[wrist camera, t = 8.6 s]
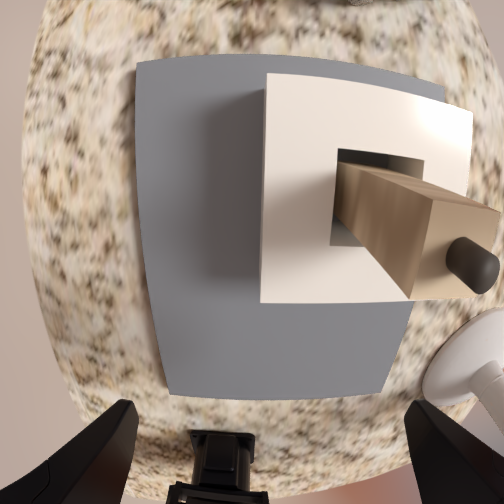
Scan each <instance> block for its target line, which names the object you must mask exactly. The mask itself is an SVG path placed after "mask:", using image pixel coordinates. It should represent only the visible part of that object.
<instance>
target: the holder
mask: <svg viewBox="0 0 504 504" xmlns="http://www.w3.org/2000/svg"><path fill="white" fill-rule="evenodd" d="M472 114H473V113H472V112H469V111H466V110H463V109H460V108H458V107H455V106H452V105H448V104H445V103H442V102H439V101H436V100H432V99H429V98H425V97H422V96H418V95H414V94H410V93H406V92H402V91H398V90H394V89H389V88H385V87H380V86H375V85H370V84H364V83H358V82H352V81H346V80H339V79H332V78H324V77H315V76H305V75H292V74H276V73H267V76H266V81H265V86H264V113H263V154H262V191H261V225H260V257H259V278H260V303H369V302H397V301H418V300H409V299H408V298H407V297H406V295H405V294H404V293H403V292H402V290H401V289H400V288H399V287H398V286H397V284H396V283H395V282H394V281H393V280H392V278H391V277H390V276H389V275H388V274H387V272H386V271H385V270H384V269H383V268H382V266H381V265H380V264H379V263H378V262H377V261H376V260H375V258H374V257H373V256H372V255H371V254H370V253H369V252H368V250H367V249H366V248H365V247H364V246H363V245H362V244H361V243H360V241H359V240H358V239H357V238H356V237H355V236H354V235H353V234H352V233H351V232H350V230H349V229H348V228H347V227H346V226H345V225H344V224H343V223H342V222H341V221H332V216H333V206H334V195H335V182H336V169H337V153H338V148H343V149H352V150H361V151H369V152H376V153H384V154H389V155H388V167H387V169H390V170H393V171H396V172H399V173H402V174H405V175H408V176H411V177H414V178H417V179H420V180H423V181H425V182H428V183H431V184H434V185H436V186H439V187H442V188H444V189H447V190H449V191H452V192H454V193H457V194H459V195H462V196H464V197H466V191H467V184H468V176H469V166H470V156H471V142H472ZM426 300H435V299H426Z"/></svg>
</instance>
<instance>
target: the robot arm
mask: <svg viewBox="0 0 504 504" xmlns="http://www.w3.org/2000/svg"><path fill="white" fill-rule="evenodd" d="M138 424H139V416H138V413H137V411H136V408H135V405H134V403H133V401H131V400H126V399H120V400H118V401H117V402H116V403H115V404H113V405H112V406H111V407H110V408H109V409H107V410H106V411H105V412H104V413H103V414H102V415H100V416H99V417H98V418H97V419H96V420H94V421H93V422H92V423H91V424H90V425H88V426H87V427H86V428H85V429H84V430H82V431H81V432H80V433H79V434H78V435H76V436H75V437H74V438H73V439H71V440H70V441H69V442H68V443H67V444H65V445H64V446H63V447H62V448H60V449H59V450H58V451H57V452H56V453H54V454H53V455H52V456H51V457H49V458H48V460H45V461H44V462H43V463H42V464H40V465H39V466H38V467H36V468H35V469H34V470H32V471H31V472H30V473H28V474H27V475H25V476H23V477H22V478H20V479H19V480H17V481H15V482H14V483H12V484H10V485H8V486H7V487H5V488H3V489H1V490H0V504H120V502H121V498H122V495H123V491H124V488H125V484H126V481H127V477H128V474H129V470H130V467H131V463H132V459H133V453H134V447H135V441H136V435H137V429H138ZM404 424H405V429H406V435H407V440H408V446H409V452H410V457H411V461H412V465H413V469H414V472H415V476H416V480H417V484H418V488H419V492H420V496H421V500H422V504H504V457H503V456H501V455H500V454H498V453H497V452H496V451H494V450H492V449H491V448H490V447H489V446H487V445H486V444H485V443H483V442H482V441H481V440H479V439H478V438H477V437H475V436H474V435H473V434H471V433H470V432H469V431H467V430H466V429H464V428H463V427H462V426H460V425H459V424H458V423H456V422H455V421H454V420H452V419H451V418H450V417H448V416H447V415H446V414H444V413H443V412H442V411H440V410H439V409H438V408H436V407H435V406H434V405H432V404H431V403H430V402H429V401H427V400H426V399H417V400H414V401H413V402H412V403H411V405H410V407H409V408H408V410H407V412H406V414H405V416H404ZM190 438H191V442H192V445H193V449H194V453H195V461H194V468H193V474H192V481H191V484H187V483H182V482H180V481H176V485H170V486H169V491H168V496H167V500H166V504H269V499H268V492H267V491H261V492H253V491H250V464H252V463H253V462H254V446H255V436H254V435H253V434H233V433H215V432H203V431H191V432H190ZM181 500H183V501H186V503H183V502H181Z"/></svg>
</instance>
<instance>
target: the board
mask: <svg viewBox="0 0 504 504" xmlns="http://www.w3.org/2000/svg"><path fill="white" fill-rule="evenodd" d="M267 73H276V74H292V75H305V76H315V77H324V78H332V79H339V80H346V81H352V82H358V83H364V84H370V85H375V86H380V87H385V88H389V89H394V90H398V91H402V92H406V93H410V94H414V95H418V96H422V97H425V98H429V99H432V100H436V101H439V102H442V103H445V97H444V86H441V85H438V84H434V83H431V82H428V81H425V80H421V79H418V78H415V77H411V76H407V75H404V74H400V73H396V72H392V71H387V70H383V69H378V68H374V67H369V66H364V65H358V64H353V63H347V62H341V61H334V60H327V59H319V58H310V57H299V56H286V55H267V54H218V55H199V56H186V57H175V58H166V59H158V60H151V61H144V62H138V63H137V68H136V90H135V155H136V178H137V194H138V208H139V219H140V230H141V239H142V248H143V256H144V264H145V271H146V278H147V285H148V292H149V298H150V304H151V310H152V315H153V321H154V326H155V331H156V336H157V341H158V346H159V351H160V356H161V360H162V365H163V369H164V373H165V377H166V382H167V386H168V390H169V394H171V395H180V396H190V397H201V398H215V399H235V400H301V399H321V398H335V397H346V396H356V395H365V394H373V393H380V392H381V390H382V388H383V386H384V384H385V381H386V379H387V377H388V374H389V372H390V369H391V367H392V364H393V362H394V359H395V357H396V354H397V351H398V349H399V346H400V343H401V341H402V338H403V335H404V332H405V329H406V326H407V323H408V320H409V317H410V314H411V311H412V308H413V304H414V301H397V302H369V303H260V278H259V257H260V225H261V191H262V154H263V113H264V86H265V81H266V76H267ZM388 155H389V154H384V153H376V152H369V151H361V150H352V149H343V148H338V153H337V160H342V161H350V162H358V163H365V164H372V165H377V166H380V167H383V168H386V169H387V167H388ZM332 221H340V220H339V219H338V218H337V216H336V215H335V214H334V213H333V216H332Z"/></svg>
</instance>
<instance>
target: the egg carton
mask: <svg viewBox="0 0 504 504" xmlns="http://www.w3.org/2000/svg"><path fill="white" fill-rule="evenodd" d="M347 1H349V2H350V3H351V4H352V5H355V6H361V5H365V4H368V3H371V2H373V1H372V0H347ZM396 1H398V0H396Z"/></svg>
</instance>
